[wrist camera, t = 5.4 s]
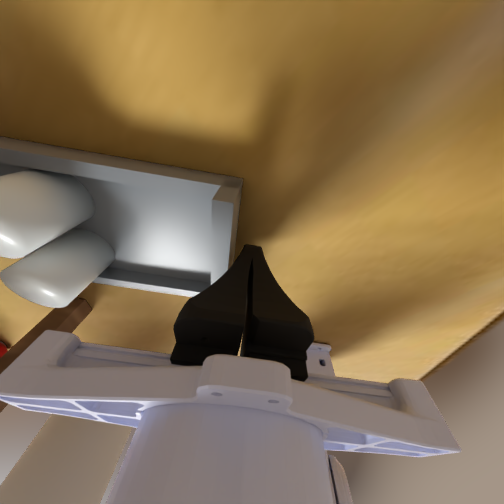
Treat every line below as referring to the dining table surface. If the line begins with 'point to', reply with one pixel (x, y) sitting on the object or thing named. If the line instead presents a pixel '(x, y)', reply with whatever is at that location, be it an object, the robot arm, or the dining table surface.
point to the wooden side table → (56, 321)
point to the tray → (110, 223)
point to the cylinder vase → (66, 463)
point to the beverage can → (2, 349)
